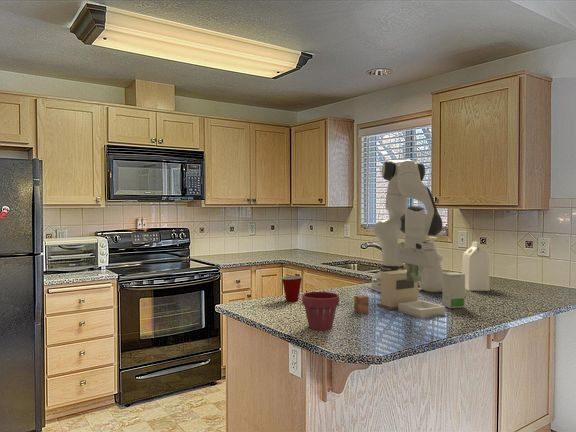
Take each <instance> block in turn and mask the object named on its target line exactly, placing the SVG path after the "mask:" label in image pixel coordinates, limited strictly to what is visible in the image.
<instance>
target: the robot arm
mask: <svg viewBox="0 0 576 432" xmlns="http://www.w3.org/2000/svg"><path fill="white" fill-rule="evenodd" d="M380 172H381V176H382V178H383V180H385V181H388V183H387V184H388V185H387V189H386V197H385V205H384V207H385V209H386V211H387V212H388V218H389V219H382V220H380V221H377V222H376V223H375V224H374V227H373V233H374V235H375V237H376V238H377V239H378V242H379V243H380V247H381V251H382V252H381V253H382V254H381V255H382V256H381V257H382V261H381V263H382V264H379V265H378V266H379V268H380V269H379V271H378V272H377V273H376V274H374V275H373V276H372V278H371V284H368V285H367V288H368V289H370V290H372V291H374V292H378V293H381V272H387V271H397V270H404V266H405V267H406V269H407V264H410V265H415V266H418V269H419V270H418V272H416V276H419V277H421V276H422V272H423V270H424V267H425V268H432V267H433V266H434V261H435V257H434V251H433V250H432V249H434V245H433V244H432V243H430V241H428V239H426V238H427V237H426V236H430V237H436V236H437V235H439V234H440V233H441V232H442V230H443V227H444V226H443V220H442V217H441V215H440V214H439V211H438V208H437V205H436V202H435V200H434V198H433V194H432V192H431V190H430V188H429V187H428V186H426V185H425V184H424V183H423V182H422V181H423V180H424V179H425V177H426V176H425V175H426V167H425V165H424V164H423V163H420V162H415V161H414V160H412V159H406V160H392V159H391V160H386V161H384V163H383V165H382V167H381V171H380ZM408 199H413V200H416V201H418V202H421V203H422V204H423V205H424V207H425V208H424V207H422V206H417V205H412V206H408V207H407V204H408ZM425 210H426V211H425ZM400 239H404V241H401V242H399V240H400Z"/></svg>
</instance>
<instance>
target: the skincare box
mask: <svg viewBox="0 0 576 432" xmlns="http://www.w3.org/2000/svg"><path fill="white" fill-rule="evenodd" d="M441 292H442V294H441V295H442V296H441V297H442V298H441V299H442V302H441V303H442V304H441V305H442V306H445V308H448V309H457V308H459V309H460V308H465V301H466V299H465V298H466V295H465V294H466V289H465V274H462V272H461V273H460V272H452V271H451V272H444V273H443V290H442V291H441Z"/></svg>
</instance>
